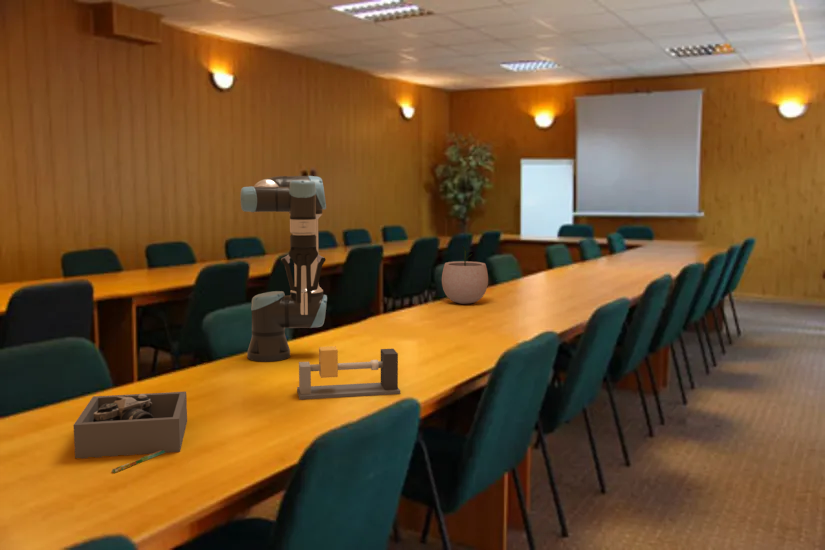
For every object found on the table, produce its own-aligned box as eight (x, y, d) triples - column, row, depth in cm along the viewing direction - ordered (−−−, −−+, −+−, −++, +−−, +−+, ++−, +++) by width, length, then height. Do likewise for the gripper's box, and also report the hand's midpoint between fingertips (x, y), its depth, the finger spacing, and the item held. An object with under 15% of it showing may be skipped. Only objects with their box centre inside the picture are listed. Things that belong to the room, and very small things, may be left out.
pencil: (173, 448, 180) (111, 473, 164) (173, 444, 180) (111, 468, 164) (177, 449, 179) (115, 475, 163) (177, 445, 179) (115, 470, 163)
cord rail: (299, 399, 219) (299, 359, 217) (297, 390, 228) (296, 351, 227) (400, 393, 225) (400, 354, 224) (393, 384, 235) (394, 347, 233)
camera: (116, 450, 177) (115, 409, 176) (90, 442, 183) (88, 402, 181) (170, 432, 190) (169, 394, 189) (144, 424, 196) (142, 387, 195)
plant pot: (473, 308, 373) (474, 248, 369) (432, 304, 386) (433, 246, 382) (495, 302, 393) (496, 245, 389) (455, 298, 406) (456, 242, 402)
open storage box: (75, 458, 172) (73, 425, 171) (94, 426, 194) (93, 396, 193) (180, 451, 177) (178, 418, 176) (187, 420, 199) (186, 391, 198)
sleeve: (320, 377, 222) (320, 350, 221) (319, 373, 227) (318, 347, 225) (337, 377, 223) (337, 350, 222) (335, 372, 228) (335, 346, 227)
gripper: (280, 235, 213) (281, 317, 216) (327, 234, 216) (328, 315, 219) (279, 233, 220) (280, 312, 223) (324, 232, 223) (325, 311, 226)
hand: (304, 313), depth 221 cm, fingers closed
